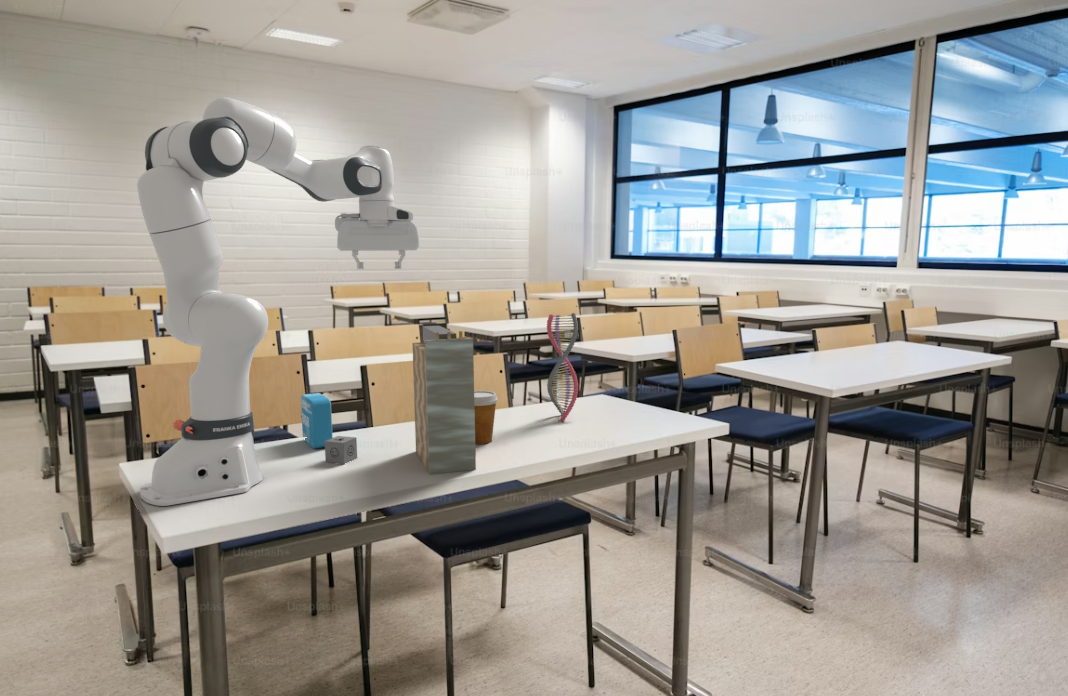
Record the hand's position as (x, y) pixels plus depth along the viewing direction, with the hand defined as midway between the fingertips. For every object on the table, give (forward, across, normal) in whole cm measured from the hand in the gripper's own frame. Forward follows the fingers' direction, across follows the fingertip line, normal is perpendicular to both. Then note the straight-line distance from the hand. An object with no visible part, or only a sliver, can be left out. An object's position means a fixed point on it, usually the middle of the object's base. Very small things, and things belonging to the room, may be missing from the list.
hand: (379, 269), depth 177 cm
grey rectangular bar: (+17, +10, -26) cm, 33 cm away
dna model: (+43, +50, +1) cm, 66 cm away
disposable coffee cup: (+43, +22, -15) cm, 51 cm away
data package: (+43, -17, -3) cm, 47 cm away
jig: (+43, +10, -28) cm, 53 cm away
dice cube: (+43, -12, -21) cm, 50 cm away
